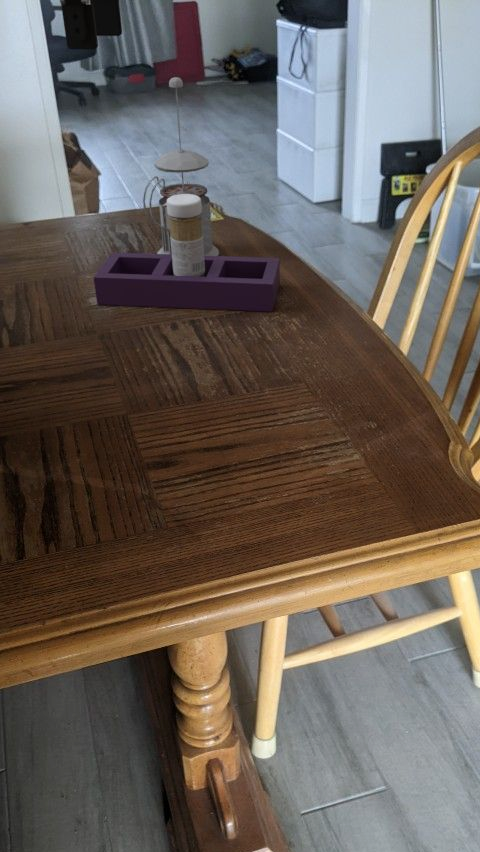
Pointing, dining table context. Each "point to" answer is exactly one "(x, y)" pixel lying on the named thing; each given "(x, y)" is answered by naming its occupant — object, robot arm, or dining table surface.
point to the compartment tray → (188, 283)
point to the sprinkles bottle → (186, 235)
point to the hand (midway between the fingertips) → (96, 41)
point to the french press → (182, 188)
